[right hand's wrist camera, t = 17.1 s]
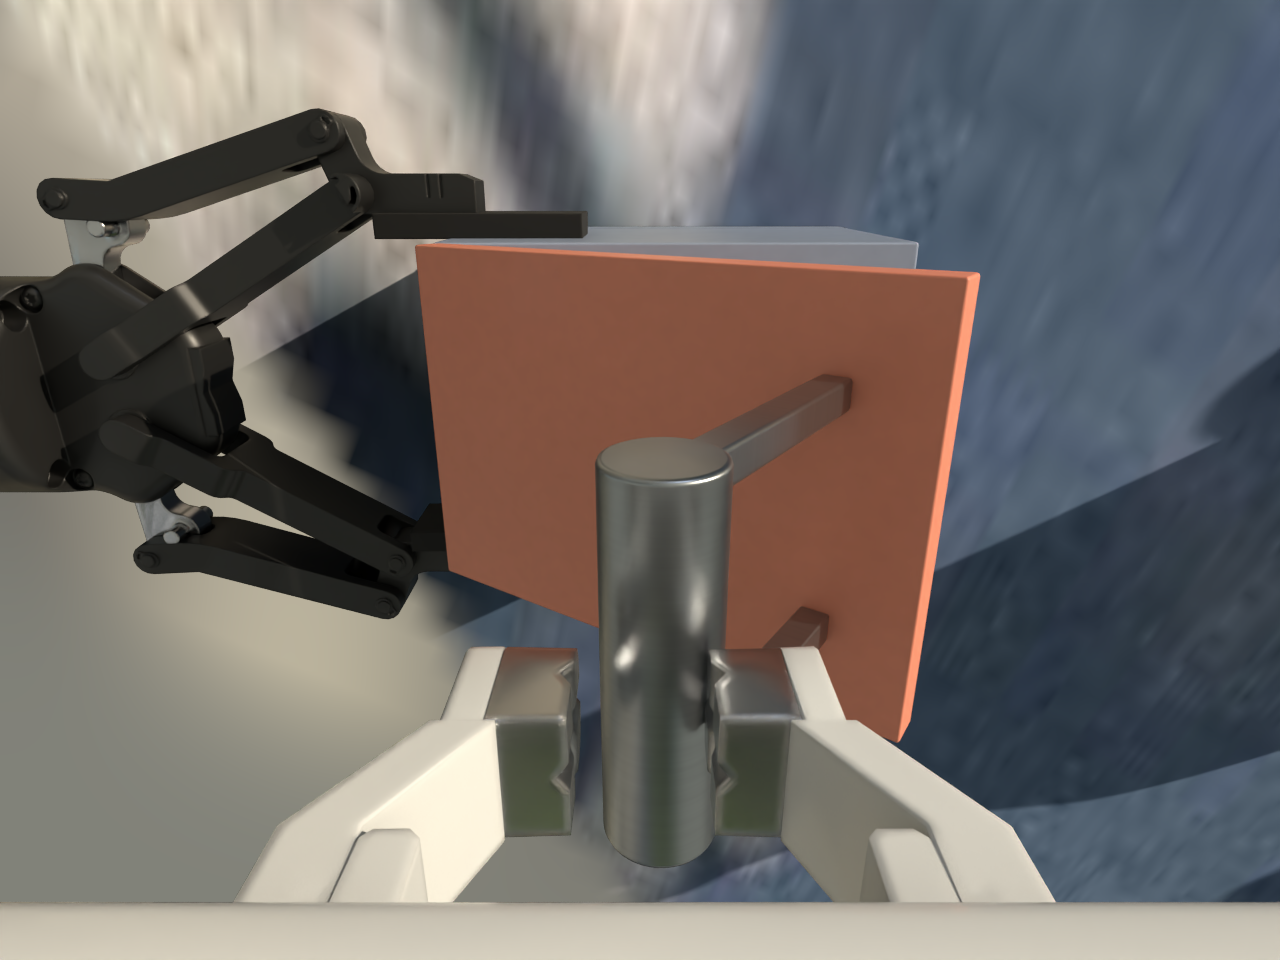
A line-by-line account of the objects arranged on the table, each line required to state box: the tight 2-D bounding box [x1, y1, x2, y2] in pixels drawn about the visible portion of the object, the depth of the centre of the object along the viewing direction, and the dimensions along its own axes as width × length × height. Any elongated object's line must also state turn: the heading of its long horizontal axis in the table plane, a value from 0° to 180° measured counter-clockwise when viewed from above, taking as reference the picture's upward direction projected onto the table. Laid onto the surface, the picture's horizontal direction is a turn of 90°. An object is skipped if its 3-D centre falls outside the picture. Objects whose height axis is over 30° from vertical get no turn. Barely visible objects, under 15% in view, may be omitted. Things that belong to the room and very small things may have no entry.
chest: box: [433, 226, 918, 269], centre depth 28 cm, size 14×10×10 cm
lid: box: [415, 243, 980, 868], centre depth 16 cm, size 15×10×8 cm
